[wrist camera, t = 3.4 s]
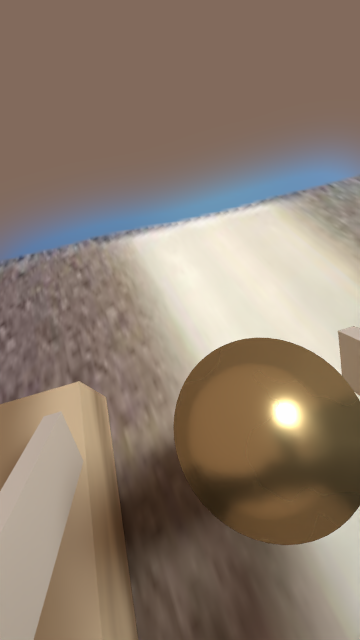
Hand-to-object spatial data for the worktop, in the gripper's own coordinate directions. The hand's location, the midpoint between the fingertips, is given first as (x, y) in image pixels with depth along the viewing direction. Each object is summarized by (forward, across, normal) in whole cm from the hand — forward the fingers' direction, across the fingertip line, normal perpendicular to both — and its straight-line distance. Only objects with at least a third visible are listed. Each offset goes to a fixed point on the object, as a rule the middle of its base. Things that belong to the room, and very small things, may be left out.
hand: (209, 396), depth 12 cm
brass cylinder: (+2, +1, -5) cm, 6 cm away
